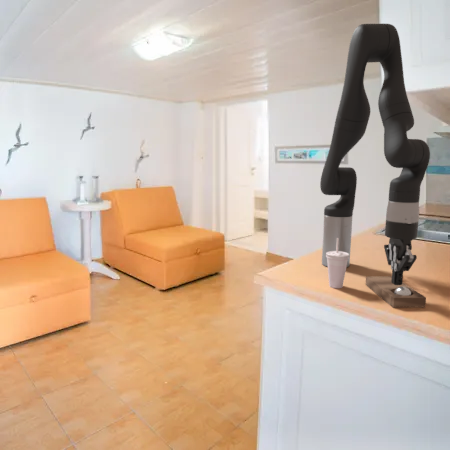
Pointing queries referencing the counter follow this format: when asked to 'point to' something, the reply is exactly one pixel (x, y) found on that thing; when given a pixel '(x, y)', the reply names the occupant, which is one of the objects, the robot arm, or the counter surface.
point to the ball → (403, 291)
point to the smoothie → (336, 266)
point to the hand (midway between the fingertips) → (396, 284)
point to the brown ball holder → (387, 289)
